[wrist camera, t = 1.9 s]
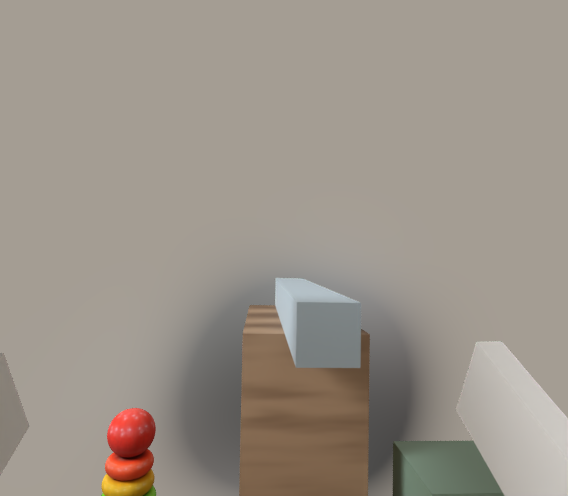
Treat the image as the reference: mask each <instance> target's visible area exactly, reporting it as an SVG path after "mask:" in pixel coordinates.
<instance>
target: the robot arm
mask: <svg viewBox="0 0 568 496" xmlns="http://www.w3.org/2000/svg"><path fill="white" fill-rule="evenodd" d="M456 411H457V413H458V414H459V416H460V418H461V420H462V422H463V423H464V425H465V427H466V429H467V430H468V432H469V434H470V436H471V437H472V439H473V441H474V443H475V445H476V446H477V448H478V450H479V452H480V453H481V455H482V457H483V459H484V460H485V462H486V464H487V466H488V467H489V469H490V471H491V473H492V474H493V476H494V478H495V480H496V482H497V483H498V485H499V487H500V489H501V490H502V492H503V494H504V496H568V418H567V417H566V416H565V415H564V413H563V412H562V411H561V410H560V409H559V408H558V407H557V405H556V404H555V403H554V402H553V401H552V400H551V399H550V397H549V396H548V395H547V394H546V393H545V391H544V390H543V389H542V388H541V387H540V386H539V384H538V383H537V382H536V381H535V380H534V379H533V378H532V376H531V375H530V374H529V373H528V372H527V371H526V369H525V368H524V367H523V366H522V365H521V363H520V362H519V361H518V360H517V359H516V358H515V356H514V355H513V354H512V353H511V352H510V351H509V349H508V348H507V347H506V346H505V345H504V344H503V342H502V341H493V342H492V341H491V342H476V345H475V349H474V352H473V355H472V358H471V362H470V365H469V368H468V372H467V375H466V378H465V382H464V385H463V388H462V391H461V395H460V399H459V401H458V405H457V408H456ZM28 427H29V423H28V421H27V418H26V415H25V412H24V409H23V407H22V404H21V401H20V398H19V395H18V392H17V390H16V387H15V384H14V381H13V378H12V376H11V373H10V370H9V367H8V364H7V362H6V359H5V356H4V354H3V353H0V475H1V473H2V471H3V470H4V468H5V466H6V465H7V463H8V461H9V460H10V458H11V456H12V454H13V453H14V451H15V449H16V447H17V446H18V444H19V443H20V441H21V439H22V438H23V436H24V434H25V433H26V431H27V429H28Z"/></svg>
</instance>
